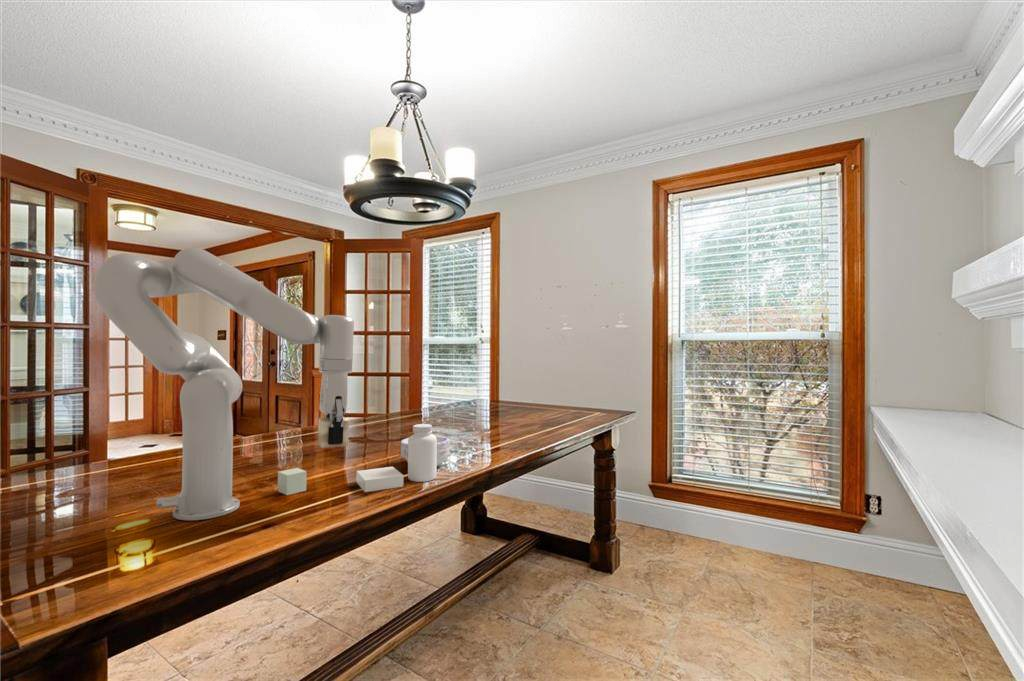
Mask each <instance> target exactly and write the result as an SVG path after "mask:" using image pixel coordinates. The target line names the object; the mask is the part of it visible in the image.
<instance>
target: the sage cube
mask: <svg viewBox="0 0 1024 681" xmlns="http://www.w3.org/2000/svg"><path fill="white" fill-rule="evenodd" d="M307 475H308V474H307V470H304V469H302V468H299V467H295V468H289V469H285V470H279V471H277V492H279V493H281V494H283V495H286V496H288V495H292V494H293V495H294V494H298V493H300V492H301V493H302V492H306V491H307Z"/></svg>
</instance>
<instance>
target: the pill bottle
mask: <svg viewBox="0 0 1024 681" xmlns="http://www.w3.org/2000/svg"><path fill="white" fill-rule="evenodd" d="M412 432H413V434H412V435H410V436H409V437H408V438H409V440H408V462H407V477H408V478H407V479H408V480H409V481H411V482H418V483H424V482H430V481H432V480H435V479H436V477H437V472H438V471H437V469H438V468H437V467H438V466H437V439H436V436H437V435H435V434H433V425H432V424H429V423H417V424H415V425H413V426H412Z"/></svg>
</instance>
